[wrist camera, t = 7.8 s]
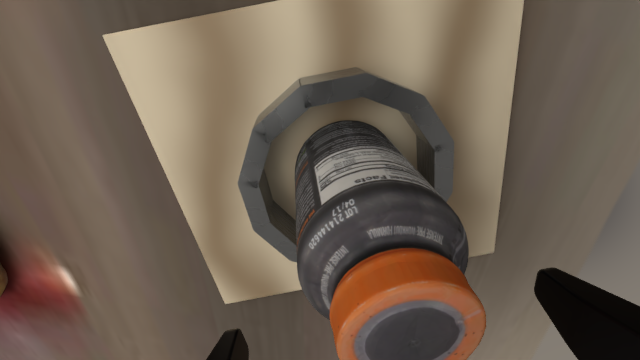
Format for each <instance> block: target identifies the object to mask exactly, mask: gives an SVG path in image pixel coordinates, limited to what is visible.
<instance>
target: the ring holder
mask: <svg viewBox="0 0 640 360" xmlns="http://www.w3.org/2000/svg"><path fill="white" fill-rule="evenodd" d="M523 5H524V0H279V1H273V2H268V3H263V4H258V5H253V6H248V7H243V8H238V9H233V10H228V11H223V12H218V13H213V14H208V15H202V16H197V17H192V18H187V19H182V20H177V21H172V22H167V23H162V24H157V25H152V26H147V27H142V28H137V29H131V30H126V31H121V32H116V33H111V34H106V35H102V36H103V38H104V40H105V42H106V45H107V47H108V49H109V51H110V53H111V56H112V58H113V60H114V62H115V64H116V66H117V69H118V71H119V73H120V75H121V77H122V80H123V82H124V84H125V86H126V88H127V90H128V93H129V95H130V97H131V99H132V101H133V104H134V106H135V108H136V110H137V112H138V114H139V117H140V119H141V121H142V123H143V125H144V128H145V130H146V132H147V134H148V136H149V138H150V141H151V143H152V145H153V147H154V149H155V152H156V154H157V156H158V158H159V160H160V162H161V165H162V167H163V169H164V171H165V173H166V176H167V178H168V180H169V182H170V184H171V186H172V189H173V191H174V193H175V195H176V197H177V200H178V202H179V204H180V206H181V208H182V210H183V213H184V215H185V217H186V219H187V221H188V224H189V226H190V228H191V230H192V232H193V234H194V237H195V239H196V241H197V243H198V245H199V248H200V250H201V252H202V254H203V256H204V258H205V261H206V263H207V265H208V267H209V269H210V272H211V274H212V276H213V278H214V280H215V282H216V285H217V287H218V289H219V291H220V293H221V296H222V298H223V300H224V302H225V304H228V303H234V302H239V301H244V300H249V299H254V298H260V297H265V296H270V295H275V294H281V293H286V292H291V291H296V290H301V289H302V288H301V285H300V282H299V278H298V271H297V244H296V204H295V165H296V160H297V156H298V153H299V151H300V149H301V148H302V146H303V144H304V142H305V141H306V140H307V139H308V138H309V137H310V136H311V135H312V134H313V133H314V132H316V131H317V130H318V129H320V128H322V127H324V126H326V125H328V124H331V123H334V122H337V121H344V120H350V121H360V122H364V123H367V124H370V125H372V126H374V127H376V128H377V129H379V130H380V131H381V132H382V133H383V134H384V135H385V136H386V137H387V138H388V139H389V140H390V141H391V142H392V144H393V145H394V146H395V147H396V148H397V149H398V150H399V151H400V152H401V153H402V154H403V156H404V157H405V158H406V159H407V160H408V161H409V162H410V163H411V164H412V165H413V166H414V167H415V169H416V170H417V171H418V172H419V173H420V174H421V175H422V176H423V177H424V178H425V180H426V181H427V182H428V183H429V184H430V185H431V186H432V187H433V188H434V190H435V191H436V192H437V193H438V194H439V195H440V196H441V197H442V198H443V199H444V201H445V202H446V203H447V204H448V205H449V206H450V207H451V208H452V209H453V210H454V212H455V213H456V214H457V216H458V217H459V219H460V221H461V222H462V225H463V226H464V229H465V232H466V235H467V240H468V247H469V256H468V257H474V256H479V255H484V254H489V253H494V248H495V240H496V231H497V223H498V215H499V206H500V198H501V189H502V181H503V173H504V164H505V156H506V147H507V139H508V131H509V122H510V114H511V105H512V97H513V89H514V80H515V72H516V64H517V55H518V47H519V38H520V30H521V22H522V13H523Z"/></svg>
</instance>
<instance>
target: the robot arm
mask: <svg viewBox="0 0 640 360" xmlns="http://www.w3.org/2000/svg"><path fill="white" fill-rule="evenodd" d="M534 292H535V295H536V297H537V299H538V301H539V302H540V304H541V305H542V307H543V308H544V310H545V311H546V313H547V315H548V316H549V318H550V319H551V321H552V322H553V324H554V325H555V327H556V328H557V330H558V331H559V333H560V335H561V336H562V338H563V339H564V341H565V342H566V344H567V345H568V347H569V348H570V349H571V350H572V352H573V353H574V355H575V356H576V357H577V359H578V360H640V306H638V305H636V304H633V303H631V302H629V301H627V300H625V299H623V298H620V297H618V296H616V295H614V294H611V293H609V292H607V291H605V290H603V289H601V288H598V287H596V286H594V285H592V284H590V283H587V282H585V281H583V280H581V279H579V278H577V277H574V276H572V275H570V274H568V273H566V272H563V271H561V270H559V269H557V268H546V269H541V270H539V271H538V273H537V277H536V282H535V287H534ZM248 359H249V351H248V345H247V343H246V340H245V338H244V336H243V334H242V332H241V330H240V329H239V328H236V329H231V330H227V331H225V332H224V334H223V335H222V337H221V338H220V340H219V341H218V343H217V344H216V346H215V347H214V349H213V350H212V352H211V353H210V355H209V356H208V358H207V359H206V360H248Z"/></svg>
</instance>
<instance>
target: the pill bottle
mask: <svg viewBox="0 0 640 360" xmlns="http://www.w3.org/2000/svg"><path fill="white" fill-rule="evenodd" d="M295 204H296V244H297V271H298V278H299V282H300V285H301V288H302V290H303V292H304V294H305V296H306V297H307V299H308V301H309V302H310V303H311V304H312V306H313V307H314V308H315V309H316V310H317V311H318V312H319V313H320V314H322V315H323V316H324V317H326V318H327V319H329V320H330V323H331V327H332V330H333V334H334V340H335V345H336V350H337V354H338V356H339V359H340V360H466V359H467V358H468V357H469V356H470V355H471V354H472V352H473V351H474V350H475V349H476V347H477V346H478V345H479V343H480V342H481V339H482V337H483V335H484V331H485V328H486V314H485V310H484V307H483V305H482V303H481V301H480V300H479V298H478V297H477V296H476V294H475V293H474V291H473V290H472V289H471V287H470V286H469V284H468V282H467V280H466V277H465V276H464V273H465V270H466V267H467V262H468V256H469V247H468V240H467V235H466V232H465V229H464V226H463V225H462V222H461V221H460V219H459V217H458V216H457V214H456V213H455V212H454V210H453V209H452V208H451V207H450V206H449V205H448V204H447V203H446V202H445V201H444V199H443V198H442V197H441V196H440V195H439V194H438V193H437V192H436V191H435V190H434V188H433V187H432V186H431V185H430V184H429V183H428V182H427V181H426V180H425V178H424V177H423V176H422V175H421V174H420V173H419V172H418V171H417V170H416V169H415V167H414V166H413V165H412V164H411V163H410V162H409V161H408V160H407V159H406V158H405V157H404V156H403V154H402V153H401V152H400V151H399V150H398V149H397V148H396V147H395V146H394V145H393V144H392V142H391V141H390V140H389V139H388V138H387V137H386V136H385V135H384V134H383V133H382V132H381V131H380V130H379V129H377V128H376V127H374V126H372V125H370V124H367V123H364V122H360V121H350V120H344V121H337V122H334V123H331V124H328V125H326V126H324V127H322V128H320V129H318V130H317V131H316V132H314V133H313V134H312V135H311V136H310V137H309V138H308V139H307V140H306V141H305V142H304V144H303V146H302V148H301V149H300V151H299V153H298V156H297V160H296V165H295Z"/></svg>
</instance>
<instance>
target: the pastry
mask: <svg viewBox="0 0 640 360" xmlns="http://www.w3.org/2000/svg"><path fill="white" fill-rule="evenodd" d="M7 282H8V278H7V273H6V271H5V269H4V268H3V267H2V265H1V264H0V296H1V295H2V293H3V291H4V289H5V287H6V285H7Z"/></svg>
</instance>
